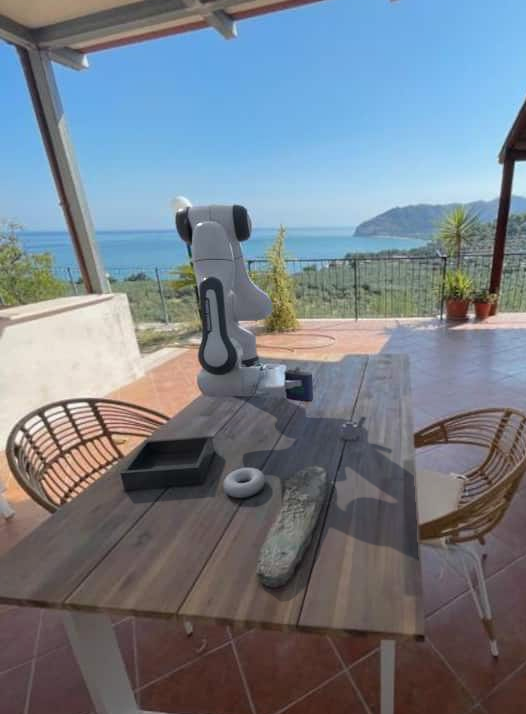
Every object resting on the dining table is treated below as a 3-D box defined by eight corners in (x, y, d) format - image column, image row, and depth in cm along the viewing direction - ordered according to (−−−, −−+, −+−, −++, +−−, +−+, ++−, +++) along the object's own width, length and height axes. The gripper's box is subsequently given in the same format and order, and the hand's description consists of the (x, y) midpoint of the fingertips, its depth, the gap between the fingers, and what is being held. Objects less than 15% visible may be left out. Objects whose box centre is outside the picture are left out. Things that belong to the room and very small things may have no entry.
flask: (314, 399, 121) (313, 367, 117) (310, 403, 119) (308, 370, 115) (288, 395, 124) (286, 363, 120) (283, 399, 122) (281, 366, 118)
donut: (216, 498, 92) (255, 503, 90) (213, 486, 91) (253, 490, 89) (236, 474, 101) (272, 478, 99) (234, 463, 100) (271, 466, 98)
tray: (148, 456, 109) (144, 440, 108) (214, 451, 112) (212, 436, 110) (124, 490, 95) (120, 473, 93) (201, 484, 97) (198, 467, 95)
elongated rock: (243, 591, 69) (297, 599, 68) (240, 570, 67) (296, 578, 66) (296, 471, 101) (334, 476, 100) (296, 454, 99) (334, 459, 98)
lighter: (343, 439, 118) (342, 415, 115) (343, 436, 120) (343, 413, 117) (366, 439, 118) (366, 416, 115) (366, 437, 120) (366, 413, 117)
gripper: (250, 384, 106) (300, 381, 108) (257, 361, 125) (300, 359, 127) (252, 405, 109) (302, 402, 111) (259, 379, 128) (301, 377, 129)
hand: (301, 379), depth 119 cm, fingers closed on flask, 4 cm apart
